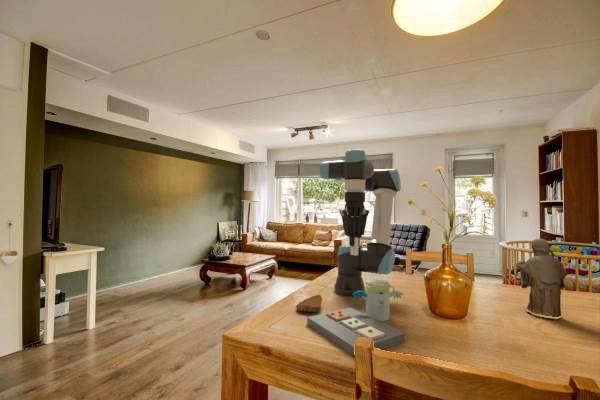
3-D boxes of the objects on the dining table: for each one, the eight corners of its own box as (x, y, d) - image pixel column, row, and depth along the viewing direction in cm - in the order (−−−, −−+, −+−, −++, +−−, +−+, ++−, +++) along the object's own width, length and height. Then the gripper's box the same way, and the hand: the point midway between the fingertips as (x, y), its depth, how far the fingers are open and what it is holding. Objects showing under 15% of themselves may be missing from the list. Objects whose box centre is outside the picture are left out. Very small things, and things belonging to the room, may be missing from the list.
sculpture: (567, 315, 114) (567, 239, 115) (566, 323, 107) (566, 242, 107) (518, 306, 125) (518, 236, 125) (514, 312, 117) (514, 238, 118)
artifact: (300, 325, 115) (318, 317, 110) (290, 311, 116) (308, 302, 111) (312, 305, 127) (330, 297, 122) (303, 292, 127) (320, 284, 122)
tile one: (370, 335, 94) (370, 325, 94) (384, 343, 89) (384, 332, 89) (356, 339, 91) (356, 329, 91) (370, 347, 86) (370, 336, 86)
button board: (350, 313, 113) (350, 307, 114) (405, 341, 91) (405, 333, 91) (307, 324, 103) (307, 317, 103) (356, 357, 81) (356, 348, 81)
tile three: (339, 318, 108) (339, 309, 108) (350, 324, 103) (350, 314, 103) (326, 321, 105) (326, 312, 105) (336, 327, 100) (336, 318, 100)
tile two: (354, 326, 101) (354, 316, 101) (366, 332, 96) (366, 322, 96) (340, 329, 98) (340, 320, 98) (352, 337, 93) (352, 326, 93)
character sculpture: (356, 323, 104) (356, 286, 104) (349, 312, 116) (349, 278, 116) (410, 323, 105) (411, 286, 105) (398, 312, 116) (399, 278, 116)
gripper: (360, 192, 115) (360, 251, 114) (334, 191, 108) (334, 254, 108) (374, 191, 108) (374, 254, 108) (347, 190, 102) (347, 258, 101)
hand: (354, 254), depth 108 cm, fingers closed
